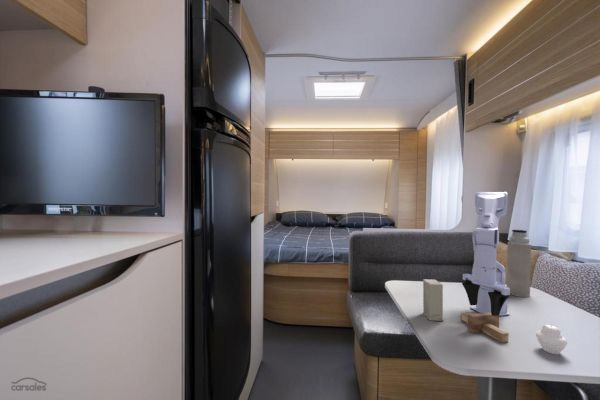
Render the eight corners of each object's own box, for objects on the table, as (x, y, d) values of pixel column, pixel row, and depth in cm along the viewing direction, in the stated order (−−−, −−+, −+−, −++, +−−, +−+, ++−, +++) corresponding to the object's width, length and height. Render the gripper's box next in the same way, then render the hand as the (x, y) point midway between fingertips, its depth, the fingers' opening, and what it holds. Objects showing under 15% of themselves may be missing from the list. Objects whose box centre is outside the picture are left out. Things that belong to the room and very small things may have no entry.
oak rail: (467, 319, 89) (467, 312, 89) (508, 341, 76) (508, 333, 76) (461, 320, 89) (462, 312, 89) (502, 342, 75) (502, 333, 75)
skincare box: (443, 321, 88) (443, 285, 88) (429, 320, 88) (430, 284, 88) (435, 313, 94) (435, 279, 94) (422, 312, 94) (422, 278, 94)
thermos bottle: (519, 290, 120) (521, 229, 120) (535, 297, 112) (536, 231, 112) (501, 290, 120) (503, 228, 120) (516, 296, 112) (517, 230, 112)
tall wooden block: (493, 327, 84) (494, 311, 84) (499, 330, 82) (499, 314, 82) (467, 330, 82) (467, 314, 82) (472, 333, 80) (472, 316, 80)
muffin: (529, 344, 75) (530, 319, 75) (551, 345, 74) (552, 320, 74) (549, 357, 68) (550, 330, 68) (573, 358, 68) (574, 331, 68)
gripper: (455, 261, 88) (454, 301, 88) (496, 273, 74) (495, 321, 74) (472, 260, 90) (471, 300, 90) (516, 272, 76) (515, 319, 76)
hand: (483, 309), depth 82 cm, fingers open, 7 cm apart
